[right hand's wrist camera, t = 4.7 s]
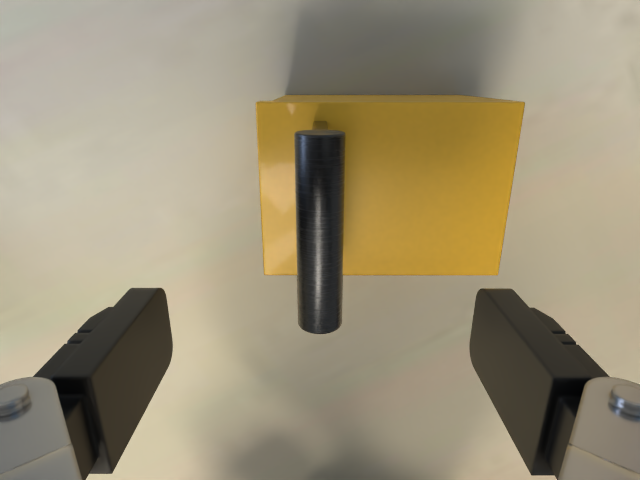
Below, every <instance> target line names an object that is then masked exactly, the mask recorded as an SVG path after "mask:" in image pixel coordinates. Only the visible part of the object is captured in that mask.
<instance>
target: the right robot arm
mask: <svg viewBox="0 0 640 480" xmlns="http://www.w3.org/2000/svg"><path fill="white" fill-rule="evenodd" d="M172 349H173V342H172V334H171V327H170V320H169V313H168V306H167V298H166V294H165V291H164V290H163V289H162V288H131V289H129V290H128V291H127V293H126V294H125V295H124V296H123V297H122V298H121V299H120V300H119V301H118V302H117V304H116V305H115V306H114V307H108V308H106V309H104V310H103V311H101V312H99V313H98V314H96V315H94V316H92V317H91V318H89V319H88V320H87V321H86V322H85V323H84V325H83V326H82V327H81V328H80V329H79V330H78V333H75V334H74V335H73V336H72V337H71V338H70V339H69V340H68V342H67V344H64V345H63V346H62V347H61V348H60V349H59V350H58V351H57V352H56V353H55V354H54V356H53V357H52V358H51V359H50V360H49V361H48V362H47V363H46V364H45V365H44V366H43V367H42V368H41V369H40V370H39V371H38V372H37V373H36V374H35V375H34V376H33V377H27V378H21V379H16V380H12V381H9V382H6V383H3V384H1V385H0V480H86V478H87V476H88V474H112V473H113V471H114V469H115V467H116V465H117V463H118V461H119V459H120V457H121V456H122V454H123V452H124V450H125V448H126V446H127V444H128V442H129V440H130V439H131V437H132V435H133V433H134V431H135V429H136V427H137V425H138V423H139V421H140V420H141V418H142V416H143V414H144V412H145V410H146V408H147V406H148V404H149V403H150V401H151V399H152V397H153V395H154V393H155V391H156V389H157V387H158V386H159V384H160V382H161V380H162V378H163V376H164V374H165V372H166V370H167V369H168V367H169V364H170V361H171V357H172ZM470 357H471V361H472V364H473V367H474V369H475V371H476V372H477V374H478V376H479V378H480V380H481V382H482V384H483V386H484V387H485V389H486V391H487V393H488V395H489V397H490V399H491V401H492V402H493V404H494V406H495V408H496V410H497V412H498V414H499V415H500V417H501V419H502V421H503V423H504V425H505V427H506V429H507V430H508V432H509V434H510V436H511V438H512V440H513V442H514V444H515V445H516V447H517V449H518V451H519V453H520V455H521V457H522V458H523V460H524V462H525V464H526V466H527V468H528V470H529V472H530V473H531V475H555V477H556V478H557V480H640V385H639V384H637V383H634V382H631V381H628V380H624V379H619V378H613V377H609V376H608V375H607V374H606V373H605V372H604V370H603V369H602V368H601V367H600V366H599V365H598V364H597V363H596V362H595V361H594V360H593V359H592V358H591V357H590V356H589V355H588V354H587V353H586V352H585V351H584V350H583V349H582V348H581V347H580V346H579V345H576V342H575V341H574V340H573V339H572V338H571V337H570V336H569V335H568V334H566V333H565V331H564V329H563V328H562V327H561V326H560V325H559V324H558V323H557V322H556V321H555V320H554V319H553V318H551V317H549V316H547V315H546V314H544V313H542V312H540V311H539V310H537V309H535V308H529V307H528V306H527V305H526V303H525V302H524V301H523V300H522V299H521V298H520V297H519V296H518V295H517V294H516V293H515V291H514V290H512V289H480V290H479V291H478V293H477V296H476V302H475V309H474V316H473V323H472V330H471V337H470Z"/></svg>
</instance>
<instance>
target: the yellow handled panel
mask: <svg viewBox="0 0 640 480" xmlns="http://www.w3.org/2000/svg"><path fill="white" fill-rule="evenodd" d="M524 106H525V102H520V101H258V102H256V122H257V142H258V162H259V182H260V202H261V222H262V243H263V263H264V275H297V294H298V324H299V326H300V327H301V328H302V329H303V330H305V331H307V332H310V333H314V334H326V333H330V332H333V331H335V330H337V329H338V328H339V327H340V326H341V323H342V286H343V275H498V270H499V264H500V258H501V251H502V245H503V239H504V233H505V226H506V220H507V214H508V207H509V201H510V195H511V188H512V182H513V176H514V169H515V163H516V157H517V150H518V144H519V138H520V131H521V125H522V119H523V112H524Z"/></svg>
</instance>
